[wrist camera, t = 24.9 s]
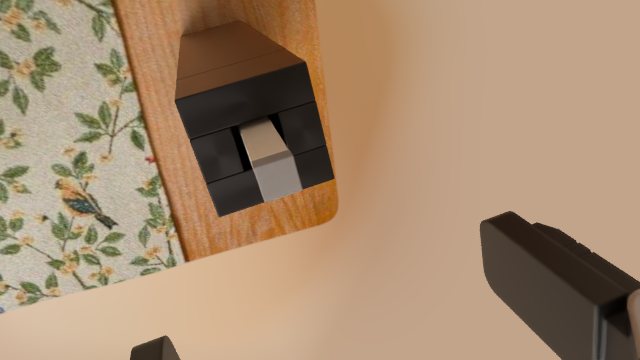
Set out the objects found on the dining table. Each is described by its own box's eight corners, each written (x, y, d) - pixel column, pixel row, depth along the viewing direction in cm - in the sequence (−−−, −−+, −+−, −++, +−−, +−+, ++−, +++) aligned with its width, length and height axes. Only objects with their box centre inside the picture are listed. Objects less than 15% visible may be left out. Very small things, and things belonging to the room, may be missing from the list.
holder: (201, 95, 51) (218, 217, 24) (180, 36, 48) (173, 100, 21) (257, 79, 52) (335, 179, 25) (240, 20, 49) (306, 61, 22)
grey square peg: (239, 133, 28) (265, 203, 19) (231, 107, 27) (253, 167, 18) (265, 125, 28) (303, 190, 19) (258, 99, 27) (293, 155, 18)
